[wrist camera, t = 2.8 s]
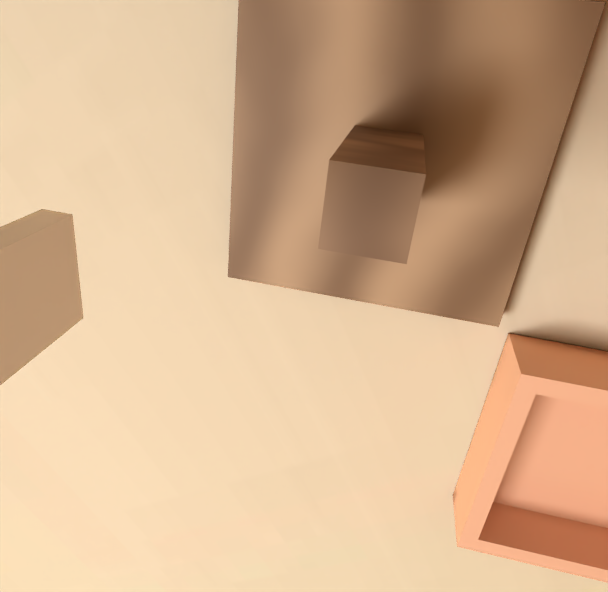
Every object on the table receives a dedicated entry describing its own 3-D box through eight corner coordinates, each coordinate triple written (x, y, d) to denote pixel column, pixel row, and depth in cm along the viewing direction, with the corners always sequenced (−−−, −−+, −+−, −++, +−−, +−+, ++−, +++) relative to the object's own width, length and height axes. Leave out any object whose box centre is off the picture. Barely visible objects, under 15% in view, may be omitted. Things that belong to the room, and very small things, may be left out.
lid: (233, 269, 30) (167, 352, 22) (247, -33, 23) (156, -72, 15) (496, 317, 28) (527, 426, 20) (598, 3, 21) (707, -19, 13)
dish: (452, 495, 35) (457, 546, 31) (508, 333, 29) (521, 373, 25) (656, 541, 33) (685, 601, 29) (760, 379, 27) (812, 430, 23)
